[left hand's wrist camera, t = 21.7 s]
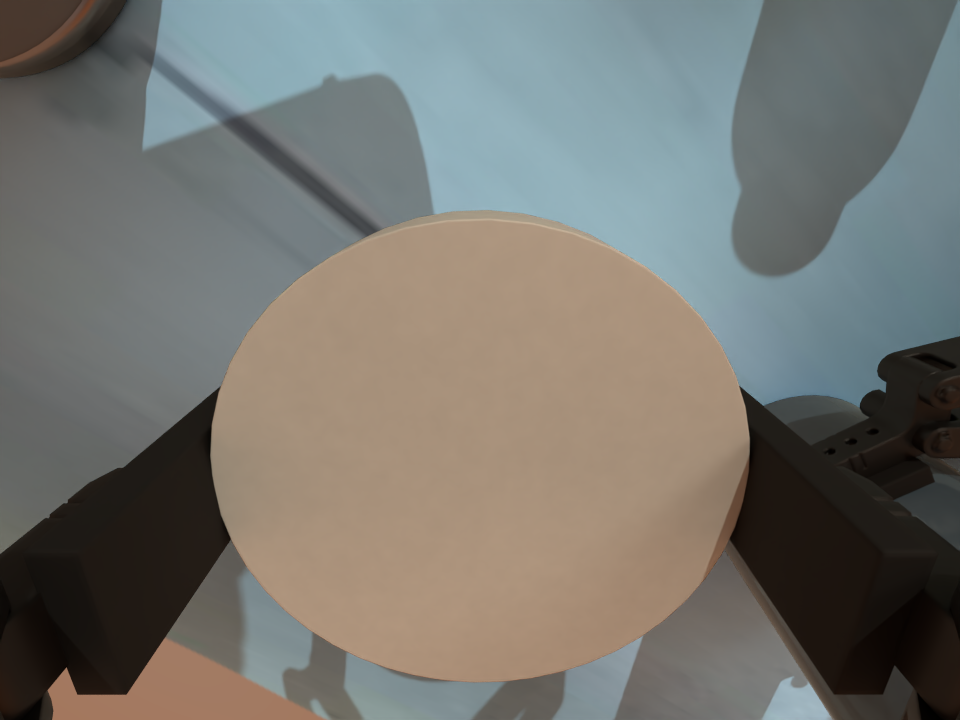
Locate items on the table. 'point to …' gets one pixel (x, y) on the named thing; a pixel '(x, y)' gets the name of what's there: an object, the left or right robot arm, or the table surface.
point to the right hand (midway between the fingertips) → (783, 613)
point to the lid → (480, 448)
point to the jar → (941, 505)
